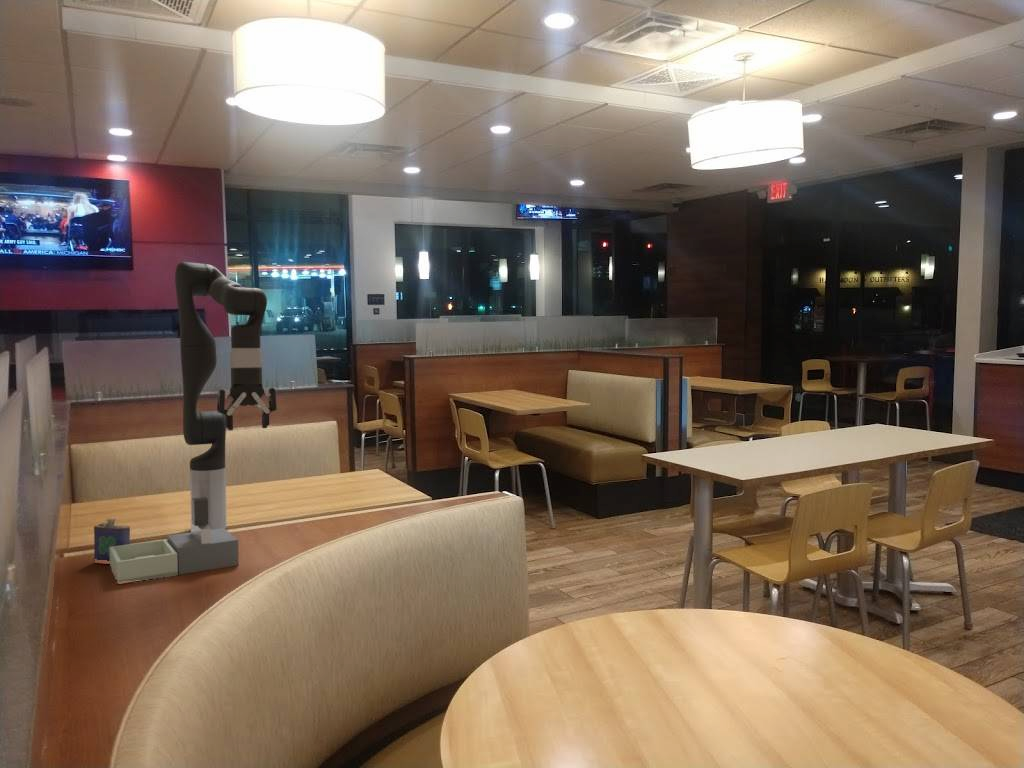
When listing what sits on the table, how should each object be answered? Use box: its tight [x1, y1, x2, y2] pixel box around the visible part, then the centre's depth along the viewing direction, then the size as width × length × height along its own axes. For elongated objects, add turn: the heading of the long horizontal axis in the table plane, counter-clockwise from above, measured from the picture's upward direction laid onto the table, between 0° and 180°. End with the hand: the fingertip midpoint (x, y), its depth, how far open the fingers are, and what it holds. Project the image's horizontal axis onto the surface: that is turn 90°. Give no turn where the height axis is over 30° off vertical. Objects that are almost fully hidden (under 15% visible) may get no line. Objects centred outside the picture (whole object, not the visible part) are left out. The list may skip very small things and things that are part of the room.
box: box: [109, 539, 179, 583], centre depth 170 cm, size 15×12×5 cm
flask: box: [93, 518, 131, 561], centre depth 177 cm, size 9×3×11 cm, turn 78°
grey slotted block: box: [166, 528, 240, 576], centre depth 177 cm, size 14×13×6 cm
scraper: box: [190, 497, 211, 545], centre depth 176 cm, size 12×3×10 cm, turn 34°
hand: (247, 429), depth 192 cm, fingers open, 8 cm apart
